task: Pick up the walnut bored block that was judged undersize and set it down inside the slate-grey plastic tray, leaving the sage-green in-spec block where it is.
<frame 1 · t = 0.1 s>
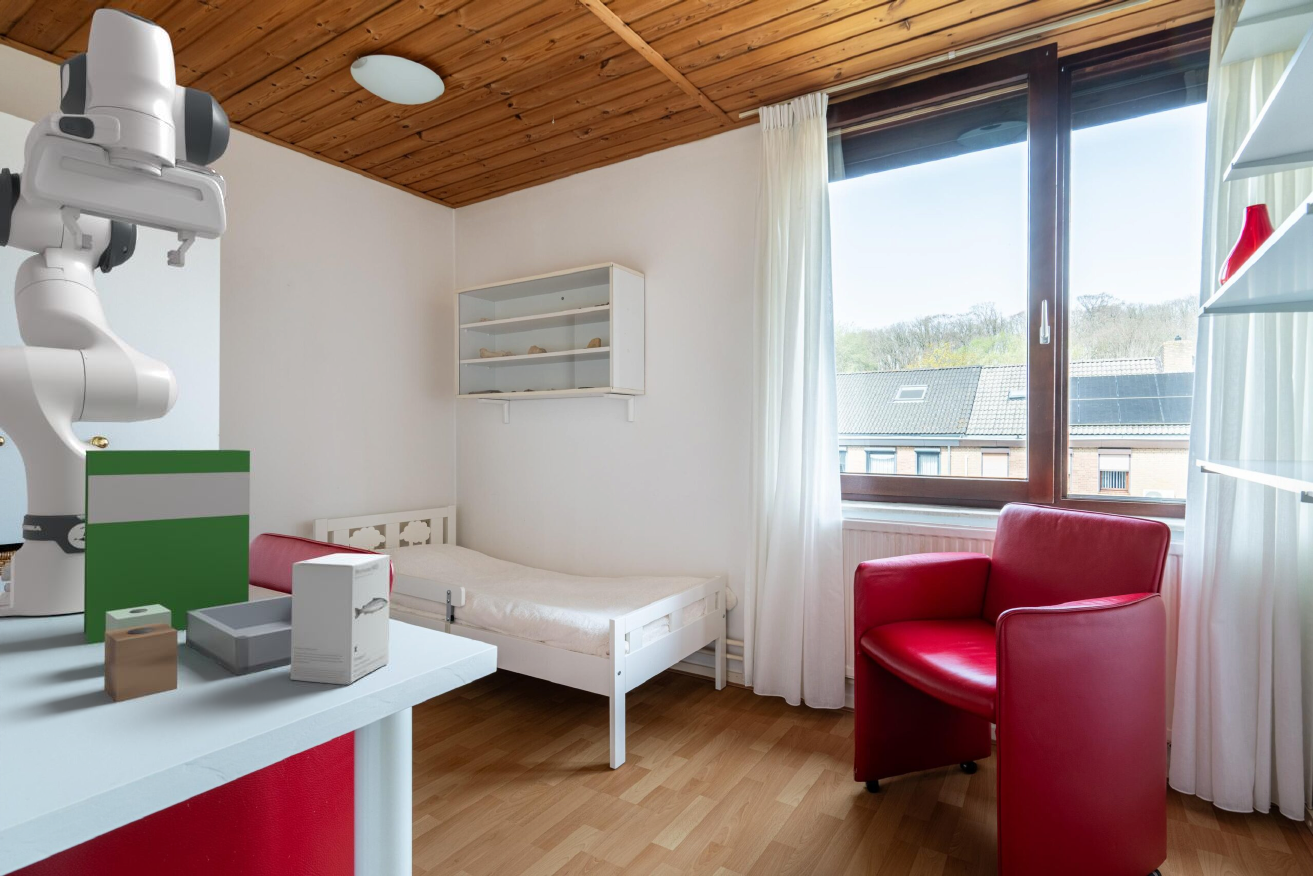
hand: (131, 258, 86), 48 cm above the table, fingers open, 8 cm apart
walnut block: (140, 689, 71), on the table
supplement box: (341, 674, 77), on the table
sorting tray: (274, 645, 86), on the table
hardback book: (168, 627, 95), on the table
sage block: (138, 664, 79), on the table
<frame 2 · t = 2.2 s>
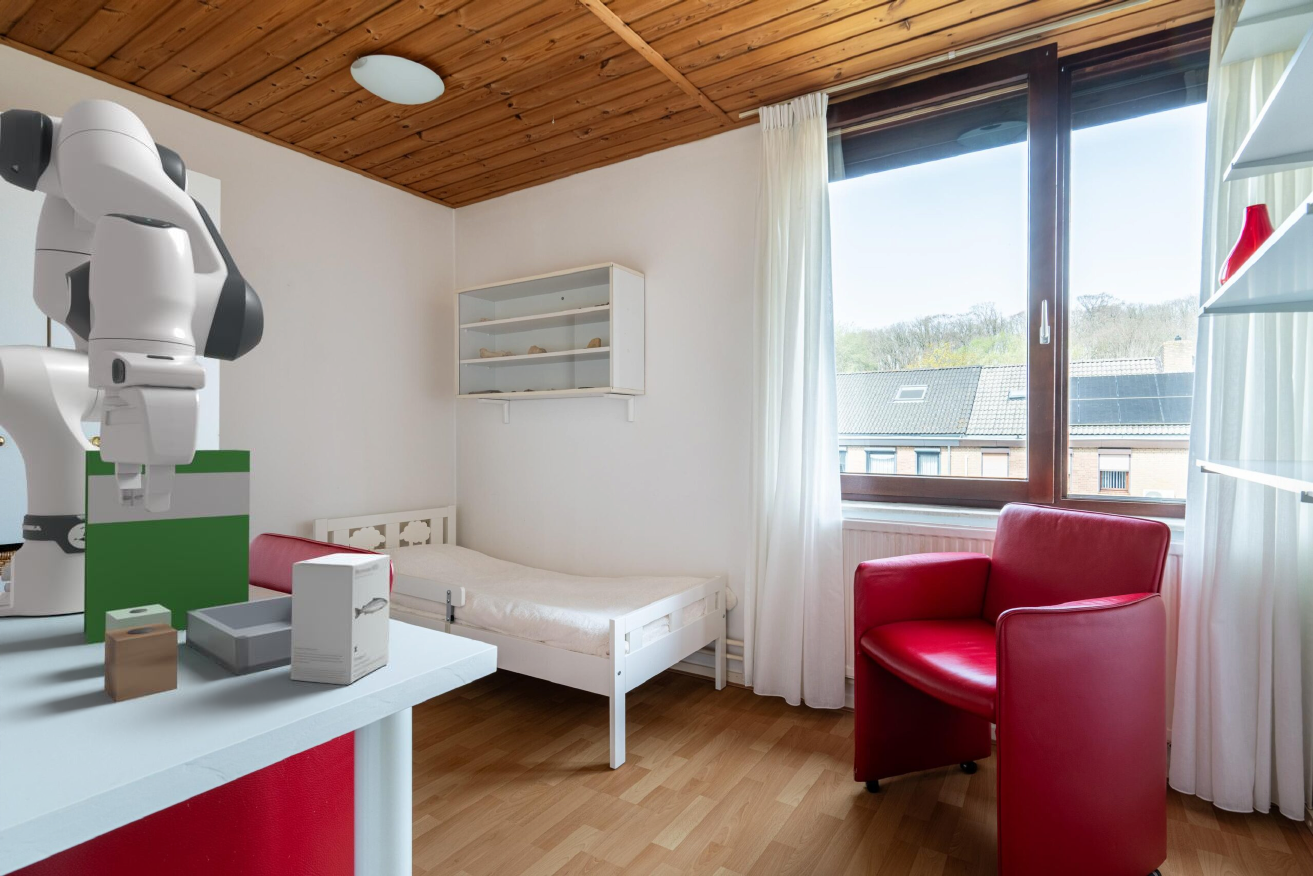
hand: (143, 508, 71), 18 cm above the table, fingers open, 8 cm apart
nothing on the table moved.
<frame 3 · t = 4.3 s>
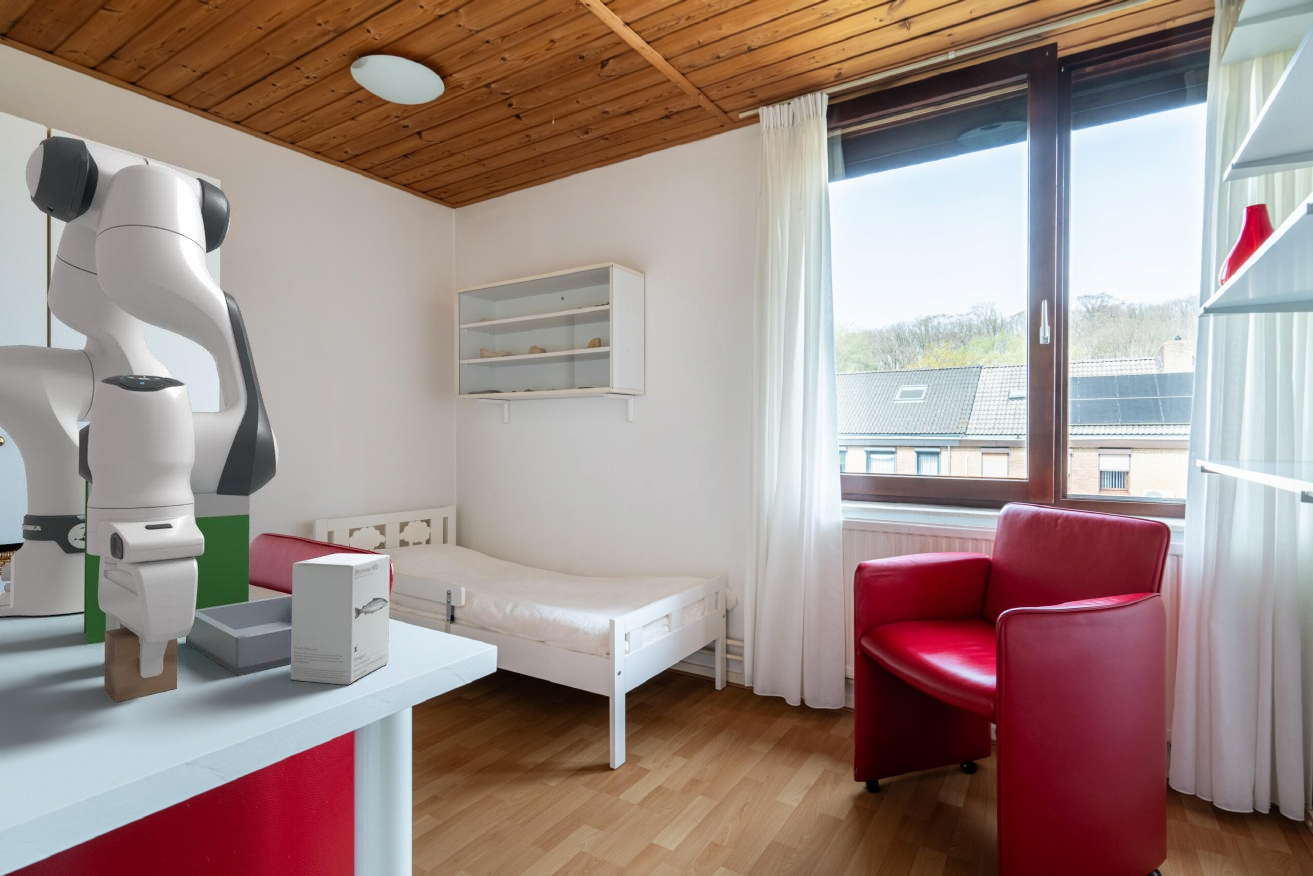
hand: (141, 668, 71), 2 cm above the table, fingers closed on walnut block, 5 cm apart
walnut block: (140, 689, 71), on the table, touching gripper
everything else where it was.
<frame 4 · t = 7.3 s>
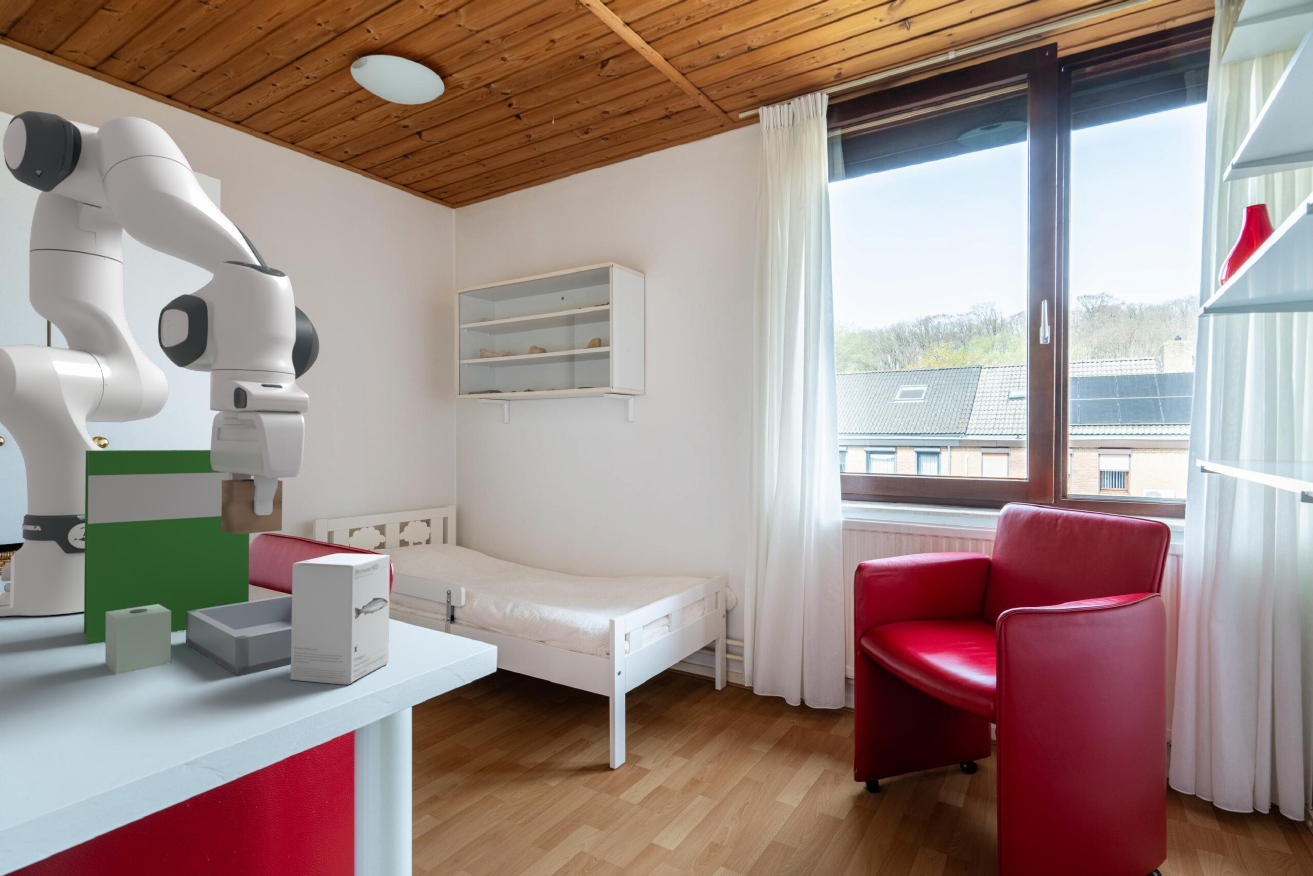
hand: (252, 512, 83), 17 cm above the table, fingers closed on walnut block, 5 cm apart
walnut block: (251, 530, 83), point 15 cm above the table, touching gripper
everything else where it was.
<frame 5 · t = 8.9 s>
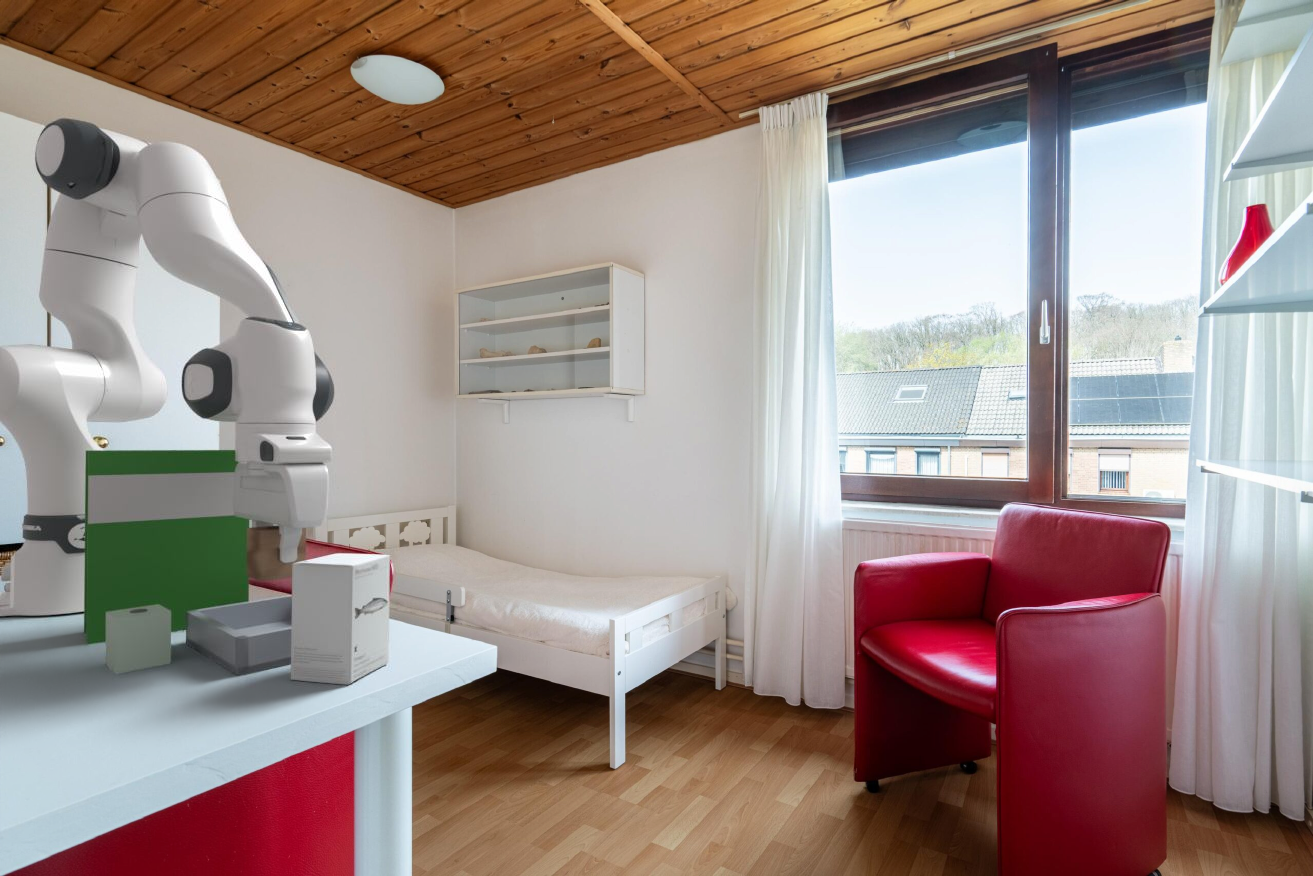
hand: (276, 558, 86), 11 cm above the table, fingers closed on walnut block, 5 cm apart
walnut block: (276, 575, 86), point 9 cm above the table, touching gripper
everything else where it was.
when the fingers open (4 cm above the table, at t = 10.4 s): walnut block drops 1 cm, resting on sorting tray.
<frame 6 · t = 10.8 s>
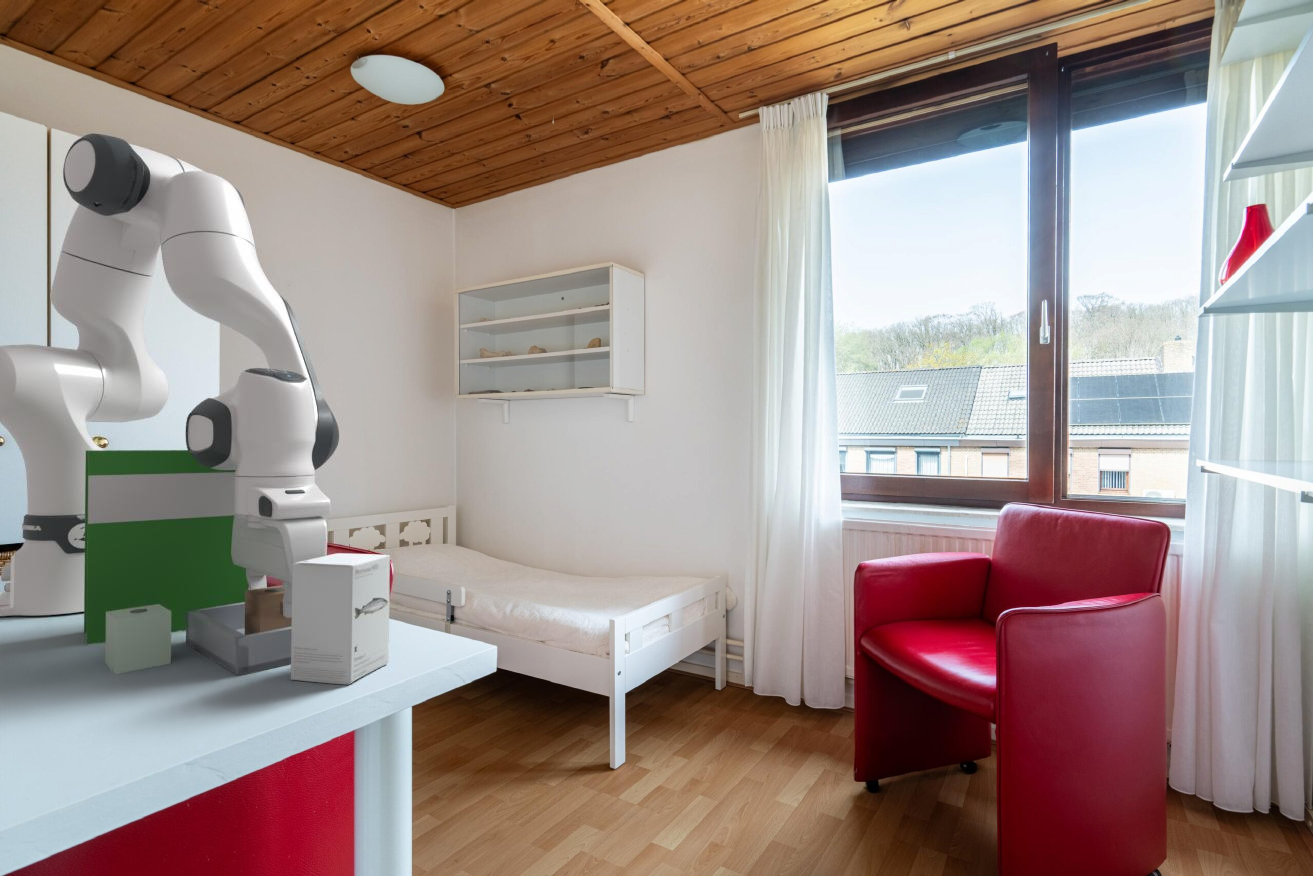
hand: (274, 609, 86), 4 cm above the table, fingers open, 8 cm apart
walnut block: (274, 638, 86), point 1 cm above the table, touching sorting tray
everything else where it was.
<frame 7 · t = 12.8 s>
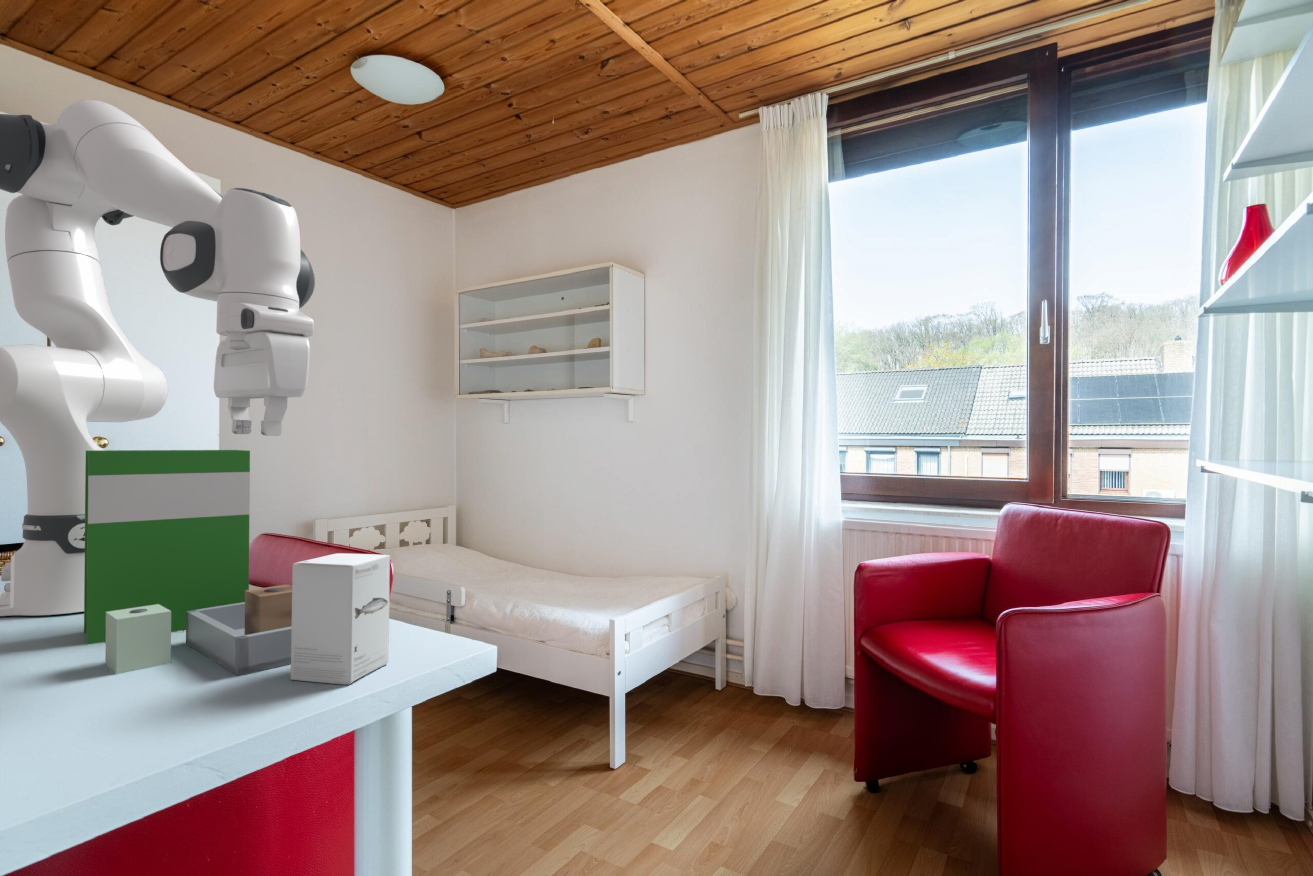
hand: (255, 435, 86), 26 cm above the table, fingers open, 8 cm apart
nothing on the table moved.
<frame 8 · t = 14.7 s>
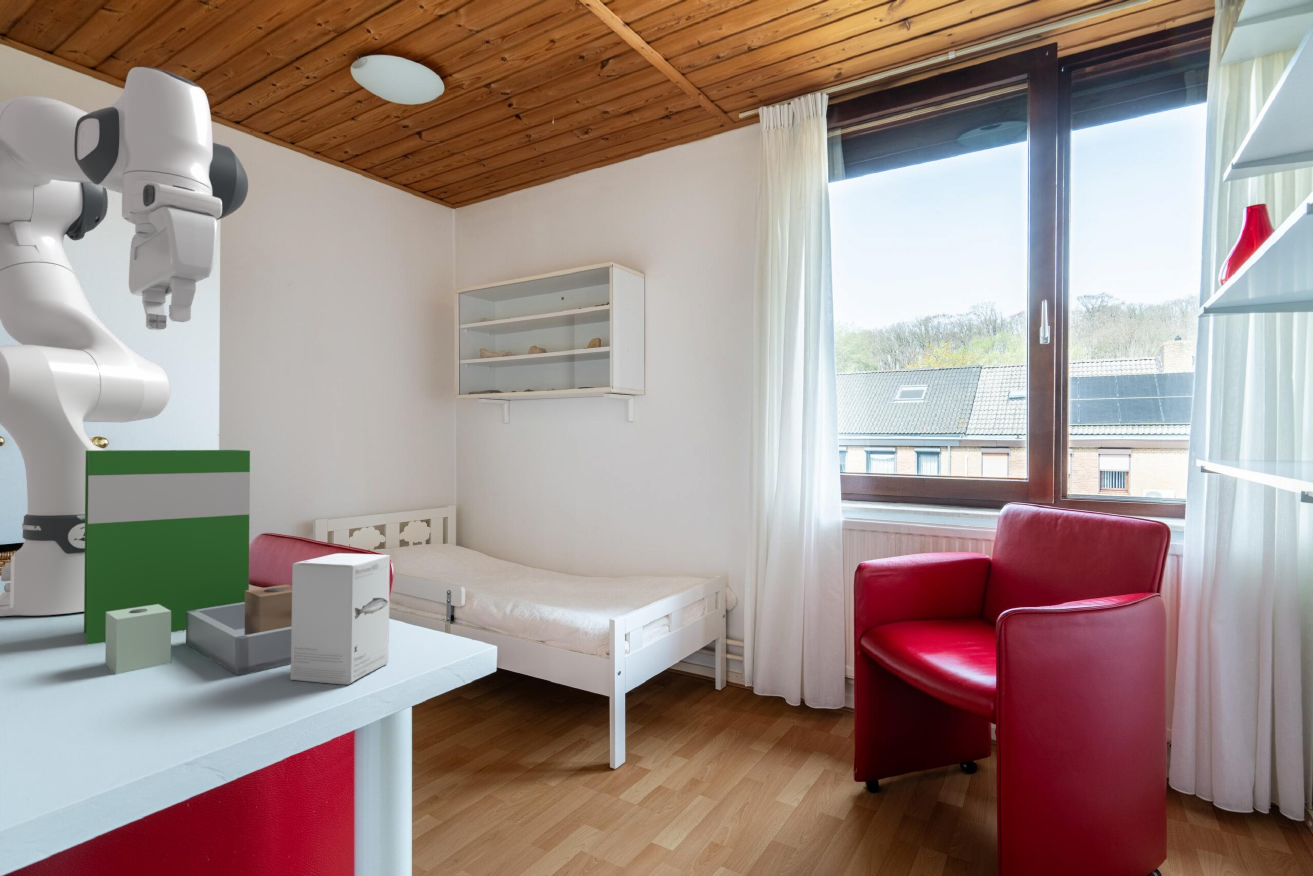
hand: (167, 325, 83), 39 cm above the table, fingers open, 8 cm apart
nothing on the table moved.
at the end: walnut block inside the target area on the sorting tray (0.1 cm from its centre), point 0.8 cm above the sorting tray's base; walnut block tilted 0°; the gripper is holding nothing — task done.
